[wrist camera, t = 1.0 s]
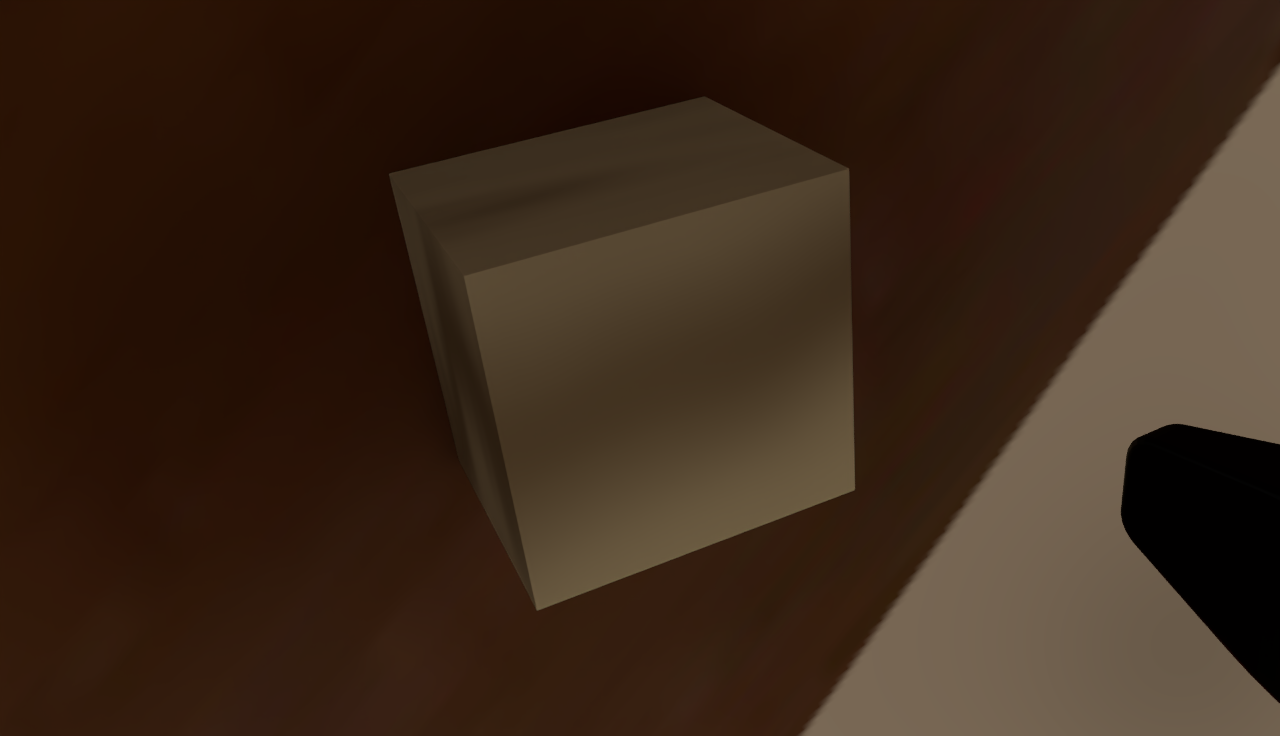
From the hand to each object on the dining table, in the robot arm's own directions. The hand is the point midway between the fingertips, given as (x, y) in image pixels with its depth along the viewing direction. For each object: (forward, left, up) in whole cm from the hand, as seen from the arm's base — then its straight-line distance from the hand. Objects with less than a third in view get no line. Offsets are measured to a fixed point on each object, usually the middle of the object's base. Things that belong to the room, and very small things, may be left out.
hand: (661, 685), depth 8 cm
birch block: (-3, -4, -13) cm, 13 cm away
